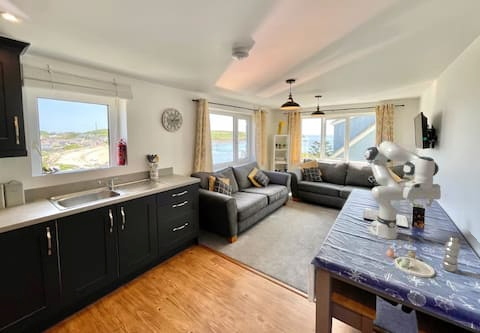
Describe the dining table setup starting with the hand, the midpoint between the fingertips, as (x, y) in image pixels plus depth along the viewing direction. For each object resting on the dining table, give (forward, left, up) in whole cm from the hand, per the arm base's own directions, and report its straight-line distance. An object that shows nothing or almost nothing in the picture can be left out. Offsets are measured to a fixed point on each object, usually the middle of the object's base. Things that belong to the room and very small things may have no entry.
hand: (420, 206), depth 135 cm
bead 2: (+12, -14, -33) cm, 38 cm away
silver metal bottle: (+12, +11, -35) cm, 38 cm away
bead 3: (+2, -3, -34) cm, 34 cm away
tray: (+12, -9, -34) cm, 37 cm away
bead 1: (0, -15, -34) cm, 37 cm away
